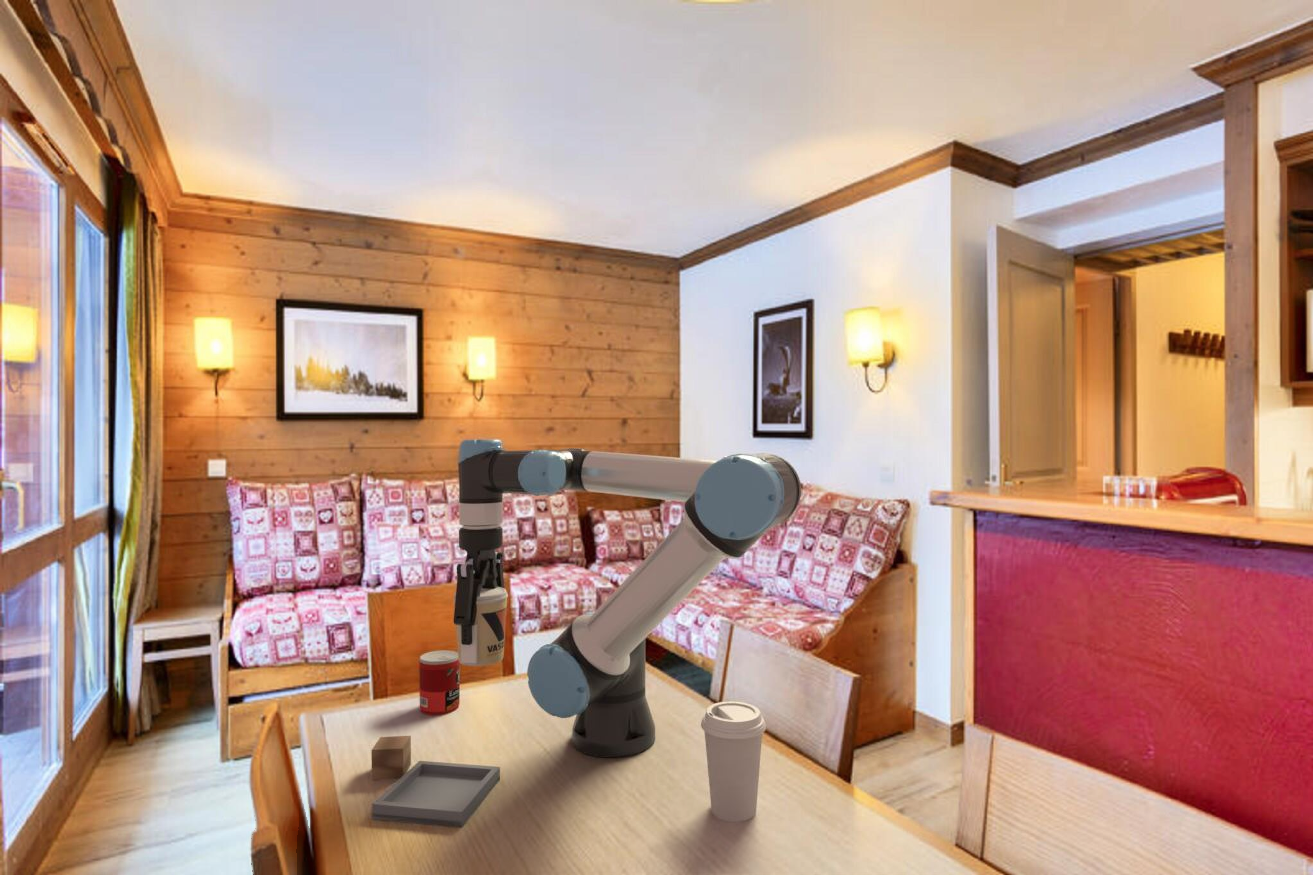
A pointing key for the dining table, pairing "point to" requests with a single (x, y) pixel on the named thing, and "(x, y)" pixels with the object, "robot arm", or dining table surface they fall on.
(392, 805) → the tray
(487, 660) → the coffee cup
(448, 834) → the dining table surface
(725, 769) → the coffee cup
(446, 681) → the canned food
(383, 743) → the walnut cube
